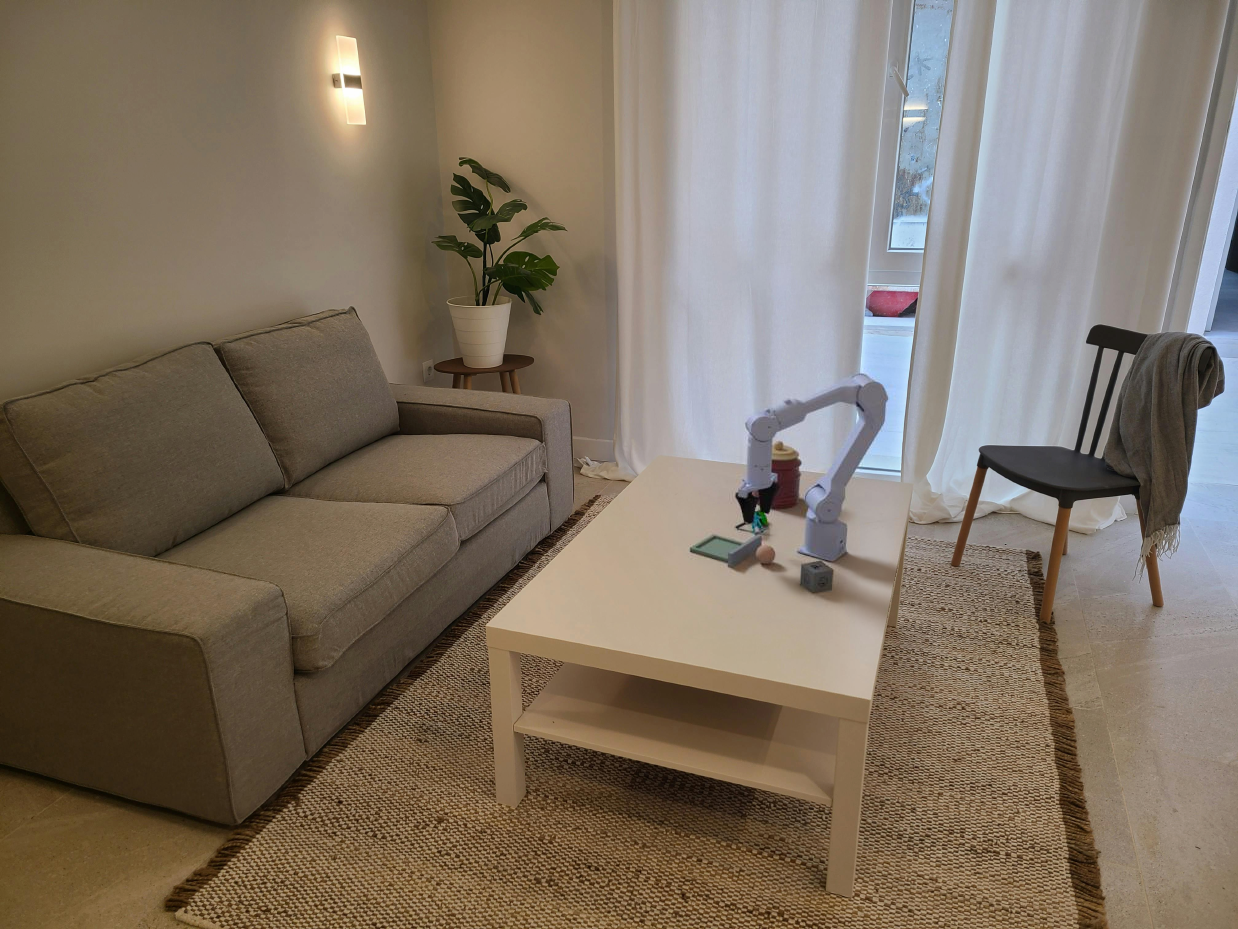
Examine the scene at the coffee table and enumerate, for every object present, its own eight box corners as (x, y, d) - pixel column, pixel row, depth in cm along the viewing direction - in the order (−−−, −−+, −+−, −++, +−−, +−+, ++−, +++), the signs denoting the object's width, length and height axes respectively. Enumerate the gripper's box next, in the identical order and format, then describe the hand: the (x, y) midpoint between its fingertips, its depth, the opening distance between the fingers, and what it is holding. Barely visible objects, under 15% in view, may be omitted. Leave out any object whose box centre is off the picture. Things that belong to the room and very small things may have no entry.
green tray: (749, 548, 211) (750, 544, 211) (727, 562, 203) (727, 558, 203) (713, 537, 217) (713, 534, 217) (689, 551, 209) (689, 547, 209)
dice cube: (800, 584, 192) (801, 564, 191) (819, 580, 194) (820, 560, 192) (812, 594, 188) (813, 573, 186) (831, 590, 190) (833, 569, 188)
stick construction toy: (759, 531, 215) (746, 503, 217) (735, 542, 219) (723, 514, 220) (776, 528, 226) (763, 501, 228) (753, 539, 229) (741, 512, 231)
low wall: (761, 548, 211) (761, 535, 210) (731, 567, 201) (731, 553, 199) (757, 547, 212) (758, 534, 210) (727, 566, 201) (728, 552, 200)
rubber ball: (778, 562, 203) (779, 545, 202) (768, 569, 200) (769, 551, 198) (761, 557, 206) (762, 540, 204) (751, 563, 202) (752, 546, 201)
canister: (748, 506, 238) (751, 445, 232) (755, 491, 249) (758, 432, 244) (796, 511, 234) (800, 449, 228) (801, 495, 246) (805, 436, 240)
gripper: (760, 452, 208) (757, 504, 213) (727, 467, 198) (725, 522, 202) (786, 458, 204) (783, 511, 208) (754, 473, 193) (751, 529, 198)
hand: (756, 517), depth 205 cm, fingers open, 7 cm apart
